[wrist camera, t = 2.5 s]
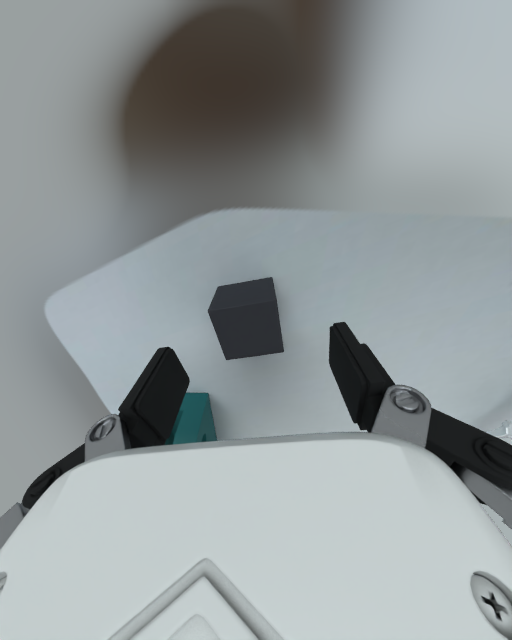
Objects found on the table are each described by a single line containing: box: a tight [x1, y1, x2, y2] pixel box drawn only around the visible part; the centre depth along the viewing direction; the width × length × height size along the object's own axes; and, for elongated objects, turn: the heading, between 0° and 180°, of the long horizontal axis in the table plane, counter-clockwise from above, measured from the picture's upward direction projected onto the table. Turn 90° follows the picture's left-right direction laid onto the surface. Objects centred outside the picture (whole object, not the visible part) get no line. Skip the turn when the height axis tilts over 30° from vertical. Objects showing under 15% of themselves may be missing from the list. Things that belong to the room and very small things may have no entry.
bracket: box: [153, 393, 217, 446], centre depth 25 cm, size 18×7×8 cm, turn 179°
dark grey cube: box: [208, 277, 284, 360], centre depth 15 cm, size 4×4×4 cm
